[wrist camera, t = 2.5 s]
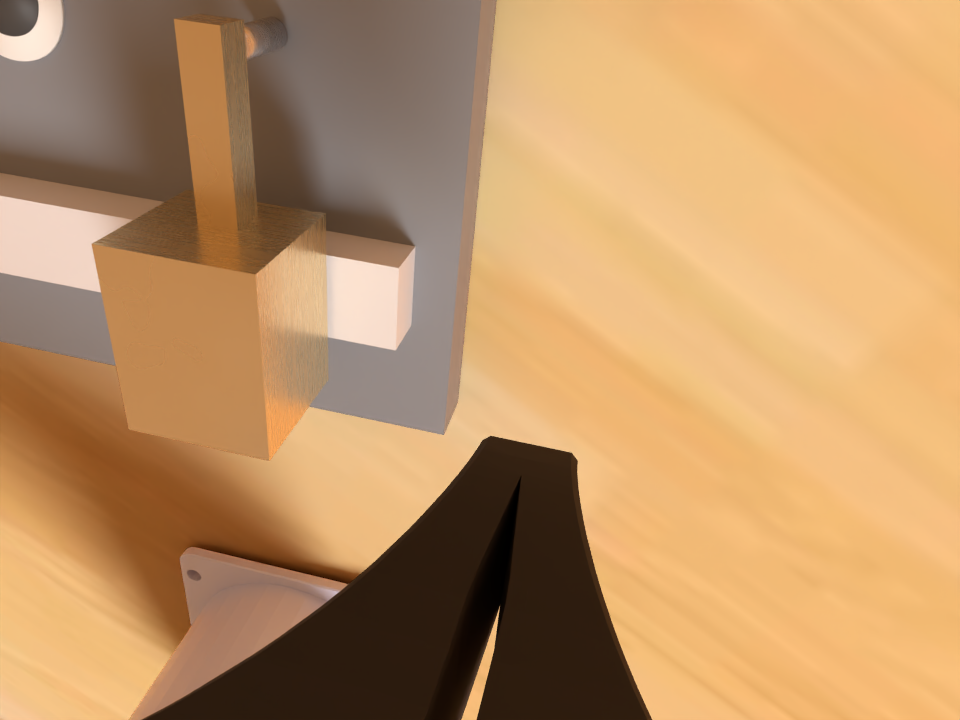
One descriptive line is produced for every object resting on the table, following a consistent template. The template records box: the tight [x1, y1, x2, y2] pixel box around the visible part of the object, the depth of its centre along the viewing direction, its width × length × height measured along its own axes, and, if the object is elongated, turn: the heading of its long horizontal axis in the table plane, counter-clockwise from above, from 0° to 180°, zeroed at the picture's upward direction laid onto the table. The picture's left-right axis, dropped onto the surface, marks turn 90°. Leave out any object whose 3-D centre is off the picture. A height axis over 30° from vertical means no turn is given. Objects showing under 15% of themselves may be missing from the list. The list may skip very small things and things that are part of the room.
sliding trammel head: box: [92, 13, 329, 461], centre depth 14 cm, size 8×3×4 cm, turn 175°
